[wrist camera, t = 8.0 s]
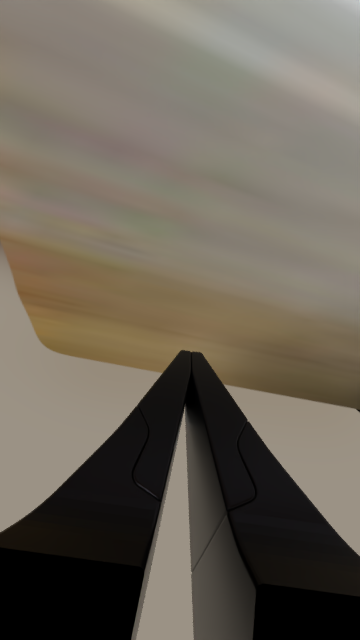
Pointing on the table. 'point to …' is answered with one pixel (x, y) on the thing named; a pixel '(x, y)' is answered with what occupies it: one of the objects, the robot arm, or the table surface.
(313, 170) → the table surface
